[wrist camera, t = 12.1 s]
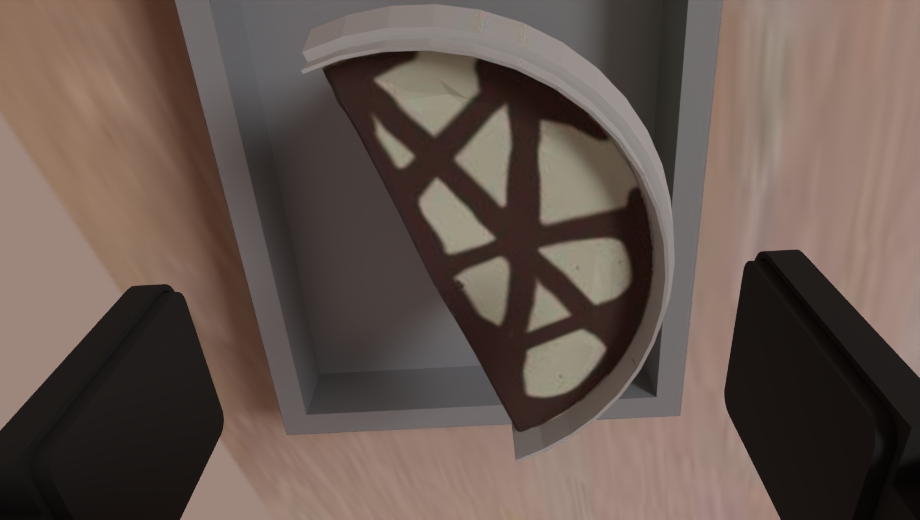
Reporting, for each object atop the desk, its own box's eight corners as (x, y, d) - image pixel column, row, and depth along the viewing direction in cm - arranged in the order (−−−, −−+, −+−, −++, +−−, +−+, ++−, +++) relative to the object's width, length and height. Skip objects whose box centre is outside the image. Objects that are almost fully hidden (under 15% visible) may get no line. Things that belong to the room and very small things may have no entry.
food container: (657, 236, 25) (752, 407, 16) (510, 290, 26) (524, 475, 17) (542, -94, 20) (589, -108, 11) (368, -6, 21) (286, 45, 12)
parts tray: (705, -248, 19) (752, -283, 16) (657, 363, 29) (680, 415, 26) (173, -197, 20) (118, -221, 17) (305, 381, 30) (286, 434, 26)
